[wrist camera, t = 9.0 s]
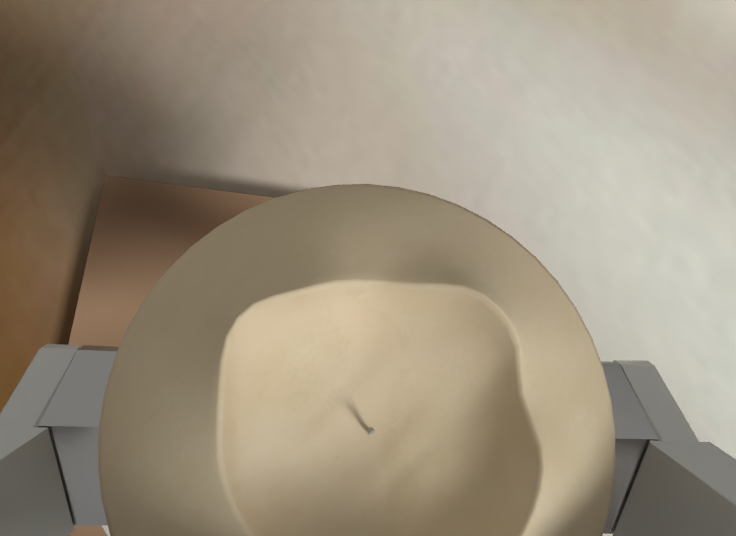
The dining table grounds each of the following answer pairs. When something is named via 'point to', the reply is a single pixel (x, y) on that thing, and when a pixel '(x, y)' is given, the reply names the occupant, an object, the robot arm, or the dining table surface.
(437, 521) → the candle
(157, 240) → the board
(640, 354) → the dining table surface
